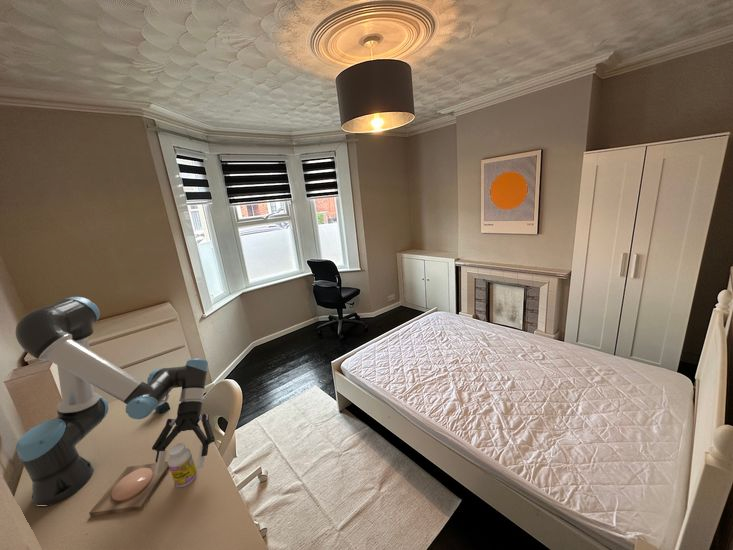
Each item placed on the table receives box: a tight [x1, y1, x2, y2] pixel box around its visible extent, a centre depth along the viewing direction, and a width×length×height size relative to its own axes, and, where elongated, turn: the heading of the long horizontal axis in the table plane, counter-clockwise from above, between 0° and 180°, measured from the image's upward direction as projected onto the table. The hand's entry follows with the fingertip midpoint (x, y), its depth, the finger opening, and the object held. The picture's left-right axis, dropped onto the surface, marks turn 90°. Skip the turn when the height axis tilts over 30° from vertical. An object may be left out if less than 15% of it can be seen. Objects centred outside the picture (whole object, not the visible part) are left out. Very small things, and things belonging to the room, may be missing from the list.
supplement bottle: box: [167, 442, 198, 488], centre depth 98 cm, size 7×7×13 cm
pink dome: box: [112, 468, 153, 501], centre depth 98 cm, size 11×11×1 cm
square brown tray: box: [88, 461, 170, 517], centre depth 99 cm, size 16×16×2 cm
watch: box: [154, 392, 171, 415], centre depth 137 cm, size 6×8×11 cm
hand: (179, 471), depth 97 cm, fingers open, 13 cm apart
